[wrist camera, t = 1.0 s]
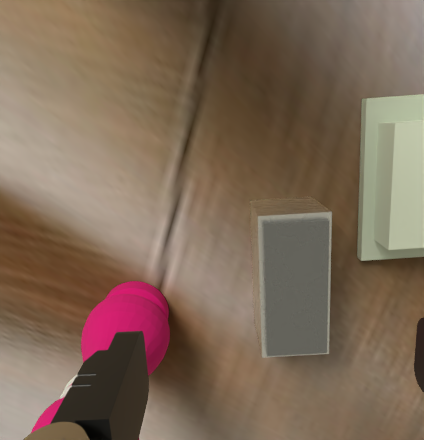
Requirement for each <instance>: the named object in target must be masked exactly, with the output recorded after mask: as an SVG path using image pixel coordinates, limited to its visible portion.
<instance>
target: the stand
mask: <svg viewBox="0 0 424 440" xmlns="http://www.w3.org/2000/svg"><path fill="white" fill-rule="evenodd" d="M357 257H358V258H359V259H360V260H361V261H366V260H382V259H397V258H412V257H424V94H422V95H408V96H394V97H379V98H366V99H362V109H361V143H360V177H359V210H358V244H357Z"/></svg>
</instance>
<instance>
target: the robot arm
mask: <svg viewBox="0 0 424 440" xmlns="http://www.w3.org/2000/svg"><path fill="white" fill-rule="evenodd" d="M414 371H415V376H416V380H417V382H418V385H419V387H420V388H421V390H422V391H423V392H424V318H421V319H420V320H419V322H418V325H417V335H416V349H415V362H414ZM148 391H149V379H148V369H147V359H146V350H145V340H144V334H143V332H142V331H128V332H116V334H115V335H114V338H113V340H112V342H111V344H110V346H109V348H108V350H97V351H96V352H95V353H94V354H93V355H91V356H90V357H89V358H88V359H87V360H86V361H84V363H83V365H82V367H81V369H80V370H79V372H78V374H77V377H76V378H75V379H74V381H73V383H72V387H70V388H69V390H68V392H67V394H66V396H65V398H64V399H63V401H62V403H61V405H60V407H59V408H58V410H57V412H56V414H55V416H54V417H53V419H52V421H51V423H50V424H49V425H46V426H44V427H41V428H39V429H37V430H36V431H34V432H32V433H31V434H29V435H28V436H27V437H26V438H25V439H24V440H138V438H139V434H140V430H141V426H142V422H143V417H144V413H145V409H146V405H147V400H148Z"/></svg>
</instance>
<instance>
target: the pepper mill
mask: <svg viewBox="0 0 424 440" xmlns="http://www.w3.org/2000/svg"><path fill="white" fill-rule="evenodd" d="M168 317H169V308H168V304H167V301H166V299H165V297H164V296H163V295H162V293H161V292H160V291H159V290H157V289H156V288H155V287H153V286H152V285H149V284H147V283H144V282H138V281H131V282H126V283H122V284H120V285H118V286H116V287H115V288H114V289H112V290H111V291H110V293H109V294H108V295H107V297H106V299H105V300H103V301H102V302H100V303H99V304H98V305H97V306H96V307H95V308H94V309H93V310H92V311H91V313H90V315H89V316H88V318H87V321H86V323H85V326H84V329H83V333H82V341H81V350H82V356H83V363H84V361H86V360H87V359H88V358H89V357H90V356H91V355H93V354H94V353H95V352H96V351H97V350H108V348H109V346H110V344H111V342H112V340H113V338H114V335H115V334H116V332H128V331H142V332H143V334H144V340H145V350H146V359H147V369H148V376H149V375H150V374H151V373H152V372H153V371H154V370H155V369H156V368H157V366H158V365H159V364H160V362H161V361H162V360H163V358H164V356H165V353H166V351H167V348H168V345H169V340H170V328H169V324H168ZM76 377H77V375H76V376H74V377H73V378H72V379H71V380H70V381H69V382H68V384H67V385H66V387H65V389H64V392H63V393H62V394H61V396H60V398H59V400H57V401H55V402H54V403H53V404H52V405H51V406H49V407H48V408H47V409H46V410H45V411H44V413H43V414H42V415H41V416H40V417H39V419H38V421H37V422H36V424H35V426H34V428H33V430H32V432H34V431H36V430H37V429H39V428H41V427H44V426H46V425H49V424H50V423H51V421H52V419H53V417H54V416H55V414H56V412H57V410H58V408H59V407H60V405H61V403H62V401H63V399H64V398H65V396H66V394H67V392H68V390H69V388H70V387H72V383H73V381H74V379H75V378H76ZM32 432H31V433H32ZM138 440H139V438H138Z"/></svg>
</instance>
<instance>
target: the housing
mask: <svg viewBox="0 0 424 440" xmlns="http://www.w3.org/2000/svg"><path fill="white" fill-rule="evenodd" d="M250 222H251V251H252V279H253V308H254V324H255V328H256V333H257V337H258V342H259V346H260V351H261V355H262V358H264V357H282V356H300V355H318V354H329V329H330V280H331V231H332V212H331V211H330V210H329V209H327V208H326V207H325V206H323V205H322V204H321V203H319V202H318V201H317V200H315V199H314V198H313V197H296V198H279V199H262V200H250Z"/></svg>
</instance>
